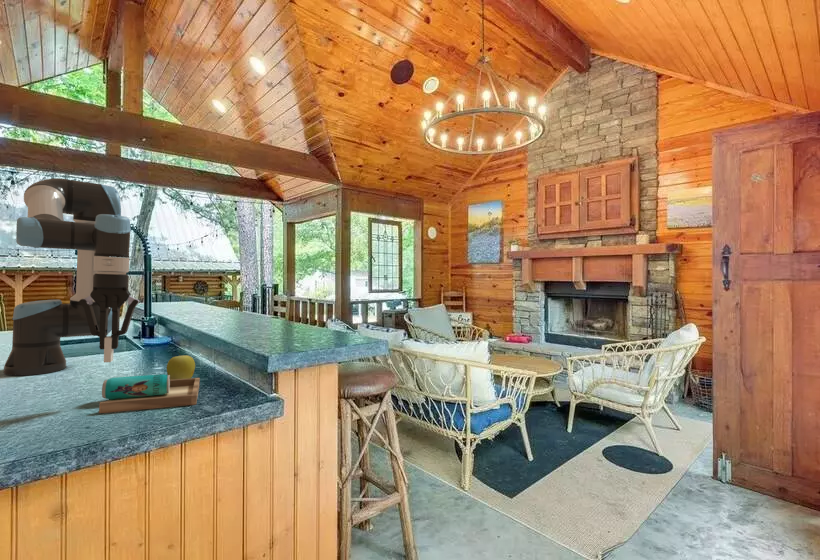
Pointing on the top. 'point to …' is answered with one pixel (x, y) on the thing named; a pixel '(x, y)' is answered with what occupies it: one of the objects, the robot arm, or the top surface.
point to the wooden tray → (157, 398)
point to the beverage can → (135, 386)
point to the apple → (181, 367)
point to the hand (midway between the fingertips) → (108, 361)
